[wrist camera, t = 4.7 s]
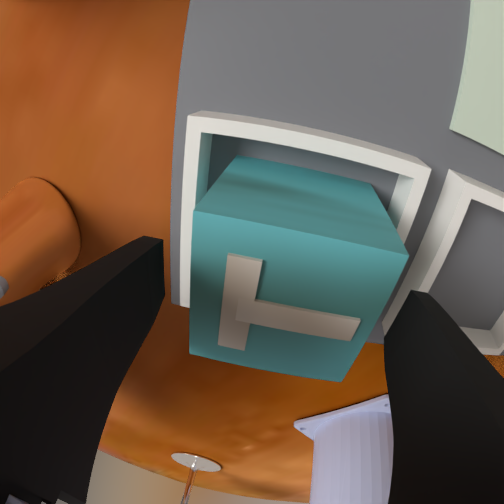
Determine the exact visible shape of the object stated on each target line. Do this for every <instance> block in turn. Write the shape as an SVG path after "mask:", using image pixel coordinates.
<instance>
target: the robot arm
mask: <svg viewBox="0 0 504 504" xmlns="http://www.w3.org/2000/svg"><path fill="white" fill-rule="evenodd" d="M164 296H165V286H164V257H163V240H162V239H157V238H153V237H148V236H142V237H140V238H138V239H136V240H134V241H132V242H130V243H128V244H126V245H124V246H122V247H120V248H119V249H117V250H115V251H113V252H111V253H110V254H108V255H106V256H104V257H102V258H101V259H99V260H97V261H95V262H93V263H92V264H90V265H88V266H86V267H84V268H82V269H81V270H79V271H77V272H75V273H73V274H71V275H69V276H67V277H65V278H63V279H61V280H60V281H58V282H56V283H54V284H52V285H50V286H48V287H46V288H44V289H41V290H39V291H37V292H35V293H33V294H30V295H28V296H26V297H23V298H21V299H19V300H16V301H14V302H11V303H8V304H6V305H3V306H0V504H41V502H42V501H43V502H45V503H46V504H55V503H56V501H57V499H60V500H62V501H64V502H67V503H68V504H85V503H86V499H87V492H88V487H89V482H90V477H91V472H92V468H93V464H94V460H95V456H96V452H97V449H98V445H99V442H100V439H101V435H102V432H103V429H104V426H105V423H106V420H107V417H108V414H109V412H110V409H111V406H112V403H113V401H114V398H115V395H116V393H117V391H118V389H119V387H120V384H121V382H122V380H123V378H124V376H125V375H126V373H127V371H128V369H129V367H130V365H131V363H132V362H133V360H134V358H135V356H136V354H137V353H138V351H139V349H140V347H141V345H142V343H143V342H144V340H145V338H146V336H147V334H148V333H149V331H150V329H151V327H152V325H153V323H154V321H155V319H156V316H157V314H158V311H159V309H160V306H161V304H162V301H163V299H164ZM384 362H385V373H386V380H387V387H388V394H386V395H382V396H380V397H377V398H374V399H371V400H368V401H365V402H362V403H359V404H355V405H352V406H349V407H346V408H342V409H339V410H335V411H332V412H328V413H324V414H321V415H317V416H313V417H309V418H305V419H300V420H297V421H295V422H294V427H295V428H296V429H298V430H299V431H300V432H302V433H303V434H305V435H306V436H308V437H309V438H310V439H312V440H313V441H314V453H313V468H312V480H311V492H310V503H309V504H504V378H503V377H502V376H501V375H500V374H499V373H498V372H497V370H496V369H495V368H494V367H493V366H492V365H491V363H490V362H489V361H488V360H487V359H486V358H485V357H484V355H483V354H482V353H481V352H480V351H479V350H478V348H477V347H476V346H475V345H474V344H473V342H472V341H471V340H470V339H469V338H468V336H467V335H466V334H465V333H464V332H463V331H462V329H461V328H460V327H459V326H458V325H457V323H456V322H455V321H454V320H453V319H452V318H451V316H450V315H449V314H448V313H447V312H446V311H445V310H444V309H443V308H442V306H441V305H440V304H439V303H438V302H437V301H436V300H435V299H434V298H433V297H432V296H431V295H429V294H428V293H426V292H421V291H415V290H410V292H409V294H408V296H407V298H406V300H405V302H404V303H403V305H402V307H401V309H400V311H399V312H398V314H397V316H396V318H395V319H394V321H393V323H392V325H391V326H390V328H389V330H388V331H387V333H386V335H385V336H384Z"/></svg>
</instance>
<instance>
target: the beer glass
mask: <svg viewBox="0 0 504 504" xmlns="http://www.w3.org/2000/svg"><path fill="white" fill-rule="evenodd" d="M79 252H80V232H79V228H78V224H77V221H76V218H75V216H74V213H73V211H72V209H71V207H70V206H69V204H68V202H67V201H66V199H65V198H64V197H63V195H62V194H61V193H60V192H59V191H58V190H57V189H56V188H55V187H54V186H52V185H51V184H50V183H48V182H46V181H45V180H42V179H40V178H27V179H24V180H22V181H20V182H19V183H18V184H16V185H15V186H14V187H13V188H12V189H11V190H10V191H9V192H8V193H7V194H6V195H5V196H4V197H3V198H2V199H1V200H0V306H3V305H6V304H8V303H11V302H14V301H16V300H19V299H21V298H23V297H26V296H28V295H30V294H33V293H35V292H37V291H39V290H40V289H41V288H42V287H43V286H44V285H45V284H47V283H48V282H49V281H50V280H52V279H53V278H55V277H56V276H58V275H59V274H61V273H62V272H64V271H65V270H67V269H68V268H69V267H71V266H72V265H73V264H74V262H75V261H76V259H77V257H78V255H79Z"/></svg>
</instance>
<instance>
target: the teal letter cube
mask: <svg viewBox="0 0 504 504" xmlns="http://www.w3.org/2000/svg"><path fill="white" fill-rule="evenodd" d="M408 257H409V254H408V252H407V250H406V248H405V246H404V244H403V242H402V240H401V238H400V236H399V234H398V232H397V231H396V229H395V227H394V225H393V223H392V221H391V219H390V217H389V216H388V214H387V212H386V210H385V208H384V206H383V205H382V203H381V201H380V199H379V198H378V196H377V194H376V192H375V191H374V189H373V187H372V186H371V184H370V183H367V182H363V181H359V180H355V179H351V178H347V177H343V176H339V175H335V174H330V173H326V172H322V171H317V170H313V169H308V168H304V167H299V166H294V165H289V164H284V163H279V162H274V161H269V160H263V159H258V158H252V157H246V156H240V155H237V156H236V157H235V158H234V159H233V161H232V162H231V163H230V164H229V165H228V167H227V168H226V169H225V170H224V172H223V173H222V174H221V175H220V177H219V178H218V179H217V180H216V182H215V183H214V184H213V185H212V187H211V188H210V189H209V190H208V192H207V193H206V194H205V196H204V197H203V198H202V199H201V201H200V202H199V203H198V205H197V206H196V207H195V209H194V210H193V220H192V240H191V266H190V310H189V353H190V354H194V355H198V356H202V357H206V358H210V359H214V360H219V361H223V362H227V363H232V364H236V365H241V366H246V367H251V368H256V369H261V370H266V371H271V372H277V373H283V374H288V375H294V376H301V377H307V378H314V379H321V380H328V381H336V382H341V381H342V380H343V378H344V377H345V375H346V374H347V372H348V370H349V369H350V367H351V365H352V364H353V362H354V361H355V359H356V357H357V356H358V354H359V352H360V350H361V349H362V347H363V345H364V344H365V342H366V340H367V338H368V337H369V335H370V333H371V331H372V329H373V328H374V326H375V324H376V322H377V320H378V319H379V317H380V315H381V313H382V311H383V309H384V307H385V305H386V303H387V301H388V299H389V297H390V295H391V293H392V291H393V289H394V287H395V285H396V283H397V281H398V279H399V277H400V275H401V273H402V271H403V268H404V266H405V264H406V262H407V260H408Z"/></svg>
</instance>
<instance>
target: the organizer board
mask: <svg viewBox="0 0 504 504" xmlns="http://www.w3.org/2000/svg"><path fill="white" fill-rule="evenodd" d="M237 155H240V156H246V157H252V158H258V159H263V160H269V161H274V162H279V163H284V164H289V165H294V166H299V167H304V168H308V169H313V170H317V171H322V172H326V173H330V174H335V175H339V176H343V177H347V178H351V179H355V180H359V181H363V182H367V183H370V184H371V186H372V187H373V189H374V191H375V192H376V194H377V196H378V198H379V199H380V201H381V203H382V205H383V206H384V208H385V210H386V212H387V214H388V216H389V217H390V219H391V221H392V223H393V225H394V227H395V229H396V231H397V232H398V234H399V236H400V238H401V240H402V242H403V244H404V246H405V248H406V250H407V252H408V254H409V257H408V260H407V262H406V264H405V266H404V268H403V271H402V273H401V275H400V277H399V279H398V281H397V283H396V285H395V287H394V289H393V291H392V293H391V295H390V297H389V299H388V301H387V303H386V305H385V307H384V309H383V311H382V313H381V315H380V317H379V319H378V320H377V322H376V324H375V326H374V328H373V329H372V331H371V333H370V335H369V337H368V338H367V340H366V342H371V343H378V344H384V336H385V335H386V333H387V331H388V330H389V328H390V326H391V325H392V323H393V321H394V319H395V318H396V316H397V314H398V312H399V311H400V309H401V307H402V305H403V303H404V302H405V300H406V298H407V296H408V294H409V292H410V290H415V291H421V292H426V293H428V294H429V295H431V296H432V297H433V298H434V299H435V300H436V301H437V302H438V303H439V304H440V305H441V306H442V308H443V309H444V310H445V311H446V312H447V313H448V314H449V315H450V316H451V318H452V319H453V320H454V321H455V322H456V323H457V325H458V326H459V327H460V328H461V329H462V331H463V332H464V333H465V334H466V335H467V336H468V338H469V339H470V340H471V341H472V342H473V344H474V345H475V346H476V347H477V348H478V350H479V351H480V352H481V353H482V354H484V355H504V0H190V5H189V11H188V17H187V23H186V30H185V36H184V43H183V51H182V59H181V67H180V75H179V84H178V94H177V105H176V116H175V129H174V143H173V160H172V182H171V219H170V269H171V303H172V304H176V305H180V306H183V307H187V308H190V266H191V240H192V220H193V210H194V209H195V207H196V206H197V205H198V203H199V202H200V201H201V199H202V198H203V197H204V196H205V194H206V193H207V192H208V190H209V189H210V188H211V187H212V185H213V184H214V183H215V182H216V180H217V179H218V178H219V177H220V175H221V174H222V173H223V172H224V170H225V169H226V168H227V167H228V165H229V164H230V163H231V162H232V161H233V159H234V158H235V157H236V156H237Z"/></svg>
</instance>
